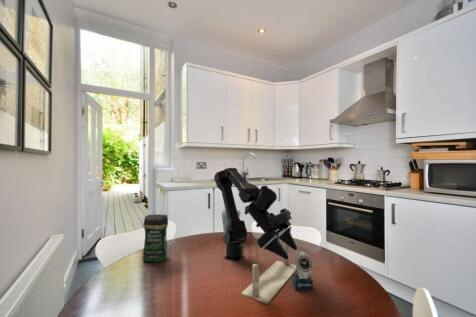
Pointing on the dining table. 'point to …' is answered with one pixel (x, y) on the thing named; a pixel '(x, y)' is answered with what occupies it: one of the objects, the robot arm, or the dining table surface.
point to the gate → (270, 280)
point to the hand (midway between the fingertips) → (292, 253)
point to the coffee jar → (155, 238)
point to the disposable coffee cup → (225, 220)
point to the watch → (302, 272)
